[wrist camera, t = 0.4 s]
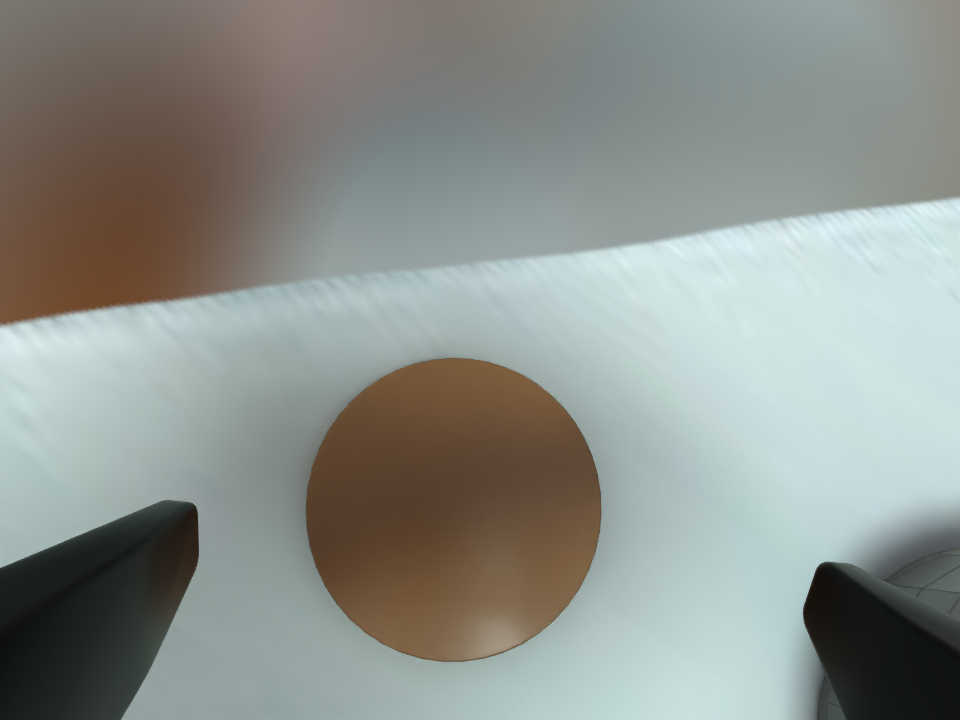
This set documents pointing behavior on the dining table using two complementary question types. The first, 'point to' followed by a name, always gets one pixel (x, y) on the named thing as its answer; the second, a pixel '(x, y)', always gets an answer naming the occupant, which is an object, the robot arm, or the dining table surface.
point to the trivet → (453, 510)
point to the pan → (933, 579)
